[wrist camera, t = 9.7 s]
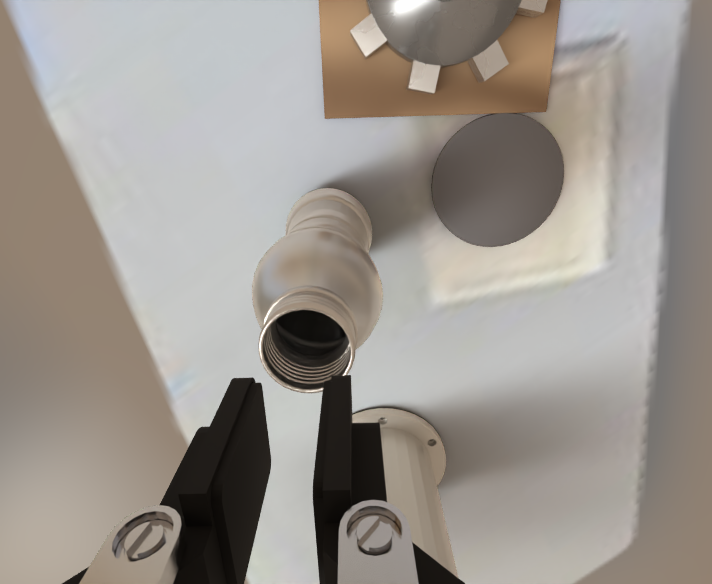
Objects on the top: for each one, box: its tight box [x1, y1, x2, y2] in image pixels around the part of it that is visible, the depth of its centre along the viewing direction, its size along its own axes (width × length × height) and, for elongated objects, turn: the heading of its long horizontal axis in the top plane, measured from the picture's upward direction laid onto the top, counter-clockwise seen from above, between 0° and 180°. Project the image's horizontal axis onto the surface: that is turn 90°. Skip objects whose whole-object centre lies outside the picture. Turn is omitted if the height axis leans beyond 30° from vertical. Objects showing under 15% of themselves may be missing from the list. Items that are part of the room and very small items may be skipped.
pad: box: [432, 113, 564, 247], centre depth 33 cm, size 10×10×1 cm
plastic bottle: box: [252, 188, 383, 393], centre depth 25 cm, size 6×7×20 cm
